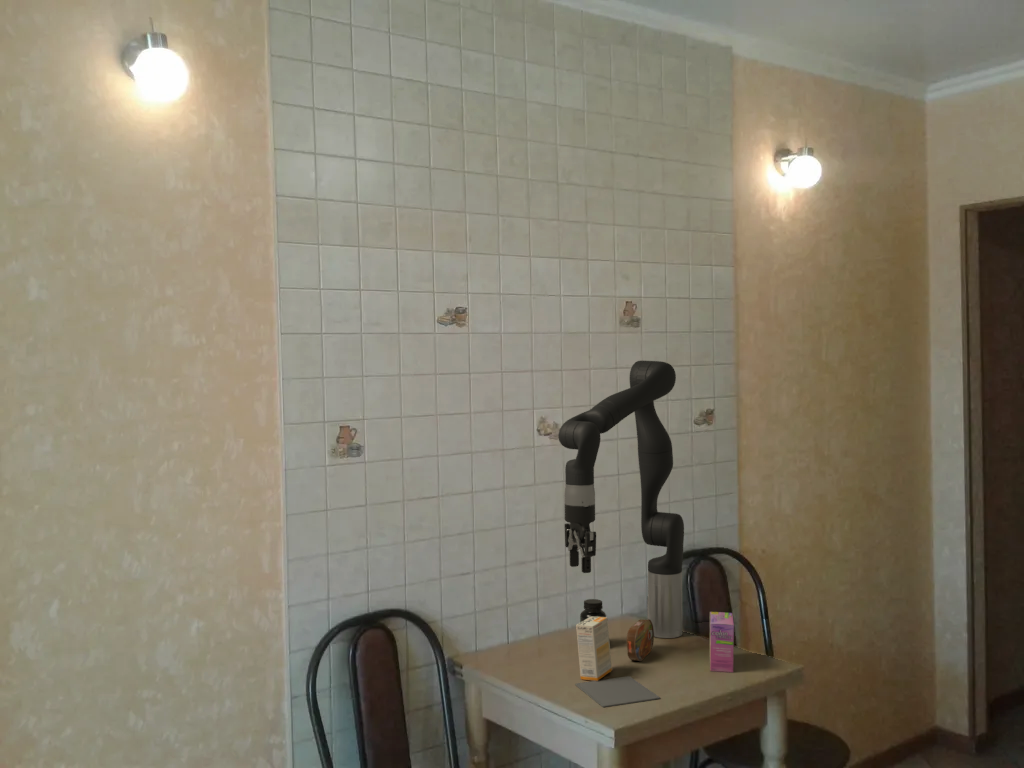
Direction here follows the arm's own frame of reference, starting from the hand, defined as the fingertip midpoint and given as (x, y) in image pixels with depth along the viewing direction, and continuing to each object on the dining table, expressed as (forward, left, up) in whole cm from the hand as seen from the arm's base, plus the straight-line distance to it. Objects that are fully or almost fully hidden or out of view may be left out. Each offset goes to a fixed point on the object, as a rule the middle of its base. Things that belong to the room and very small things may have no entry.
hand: (580, 569), depth 230 cm
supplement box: (+9, 0, -24) cm, 25 cm away
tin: (-1, +17, -24) cm, 29 cm away
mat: (+20, 0, -24) cm, 31 cm away
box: (+13, +32, -24) cm, 42 cm away
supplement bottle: (-12, +9, -24) cm, 28 cm away
